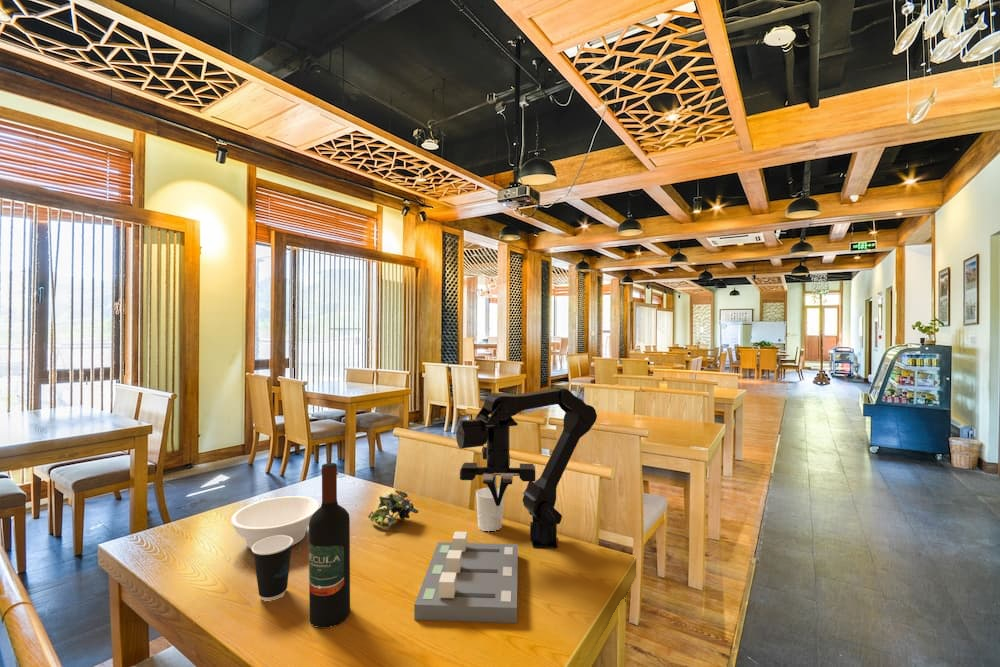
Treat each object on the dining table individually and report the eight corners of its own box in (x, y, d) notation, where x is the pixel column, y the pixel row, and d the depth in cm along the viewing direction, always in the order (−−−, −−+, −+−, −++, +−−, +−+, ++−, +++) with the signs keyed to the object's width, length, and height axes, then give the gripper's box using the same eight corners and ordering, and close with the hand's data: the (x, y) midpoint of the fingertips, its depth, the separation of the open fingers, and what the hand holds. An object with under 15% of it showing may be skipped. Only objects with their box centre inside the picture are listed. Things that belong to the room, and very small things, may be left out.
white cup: (507, 523, 129) (507, 489, 129) (498, 535, 122) (498, 499, 122) (482, 519, 132) (482, 485, 132) (471, 531, 125) (471, 495, 124)
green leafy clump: (401, 537, 132) (425, 504, 132) (385, 548, 121) (412, 512, 122) (374, 512, 135) (398, 479, 135) (356, 520, 124) (382, 485, 124)
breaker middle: (461, 564, 101) (461, 550, 101) (459, 572, 97) (459, 558, 97) (448, 564, 101) (448, 550, 101) (446, 572, 98) (446, 558, 98)
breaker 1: (456, 587, 92) (456, 572, 92) (453, 598, 88) (453, 582, 88) (442, 587, 92) (441, 572, 92) (438, 597, 89) (438, 581, 89)
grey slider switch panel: (517, 556, 111) (517, 543, 111) (516, 623, 86) (516, 607, 86) (438, 553, 112) (438, 541, 112) (414, 619, 87) (414, 604, 87)
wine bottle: (358, 609, 90) (357, 462, 90) (329, 632, 83) (328, 473, 83) (330, 599, 93) (329, 457, 93) (300, 621, 87) (299, 468, 86)
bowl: (211, 552, 113) (211, 520, 113) (280, 518, 132) (280, 491, 132) (272, 569, 105) (272, 535, 105) (336, 531, 124) (336, 502, 124)
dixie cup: (288, 603, 92) (288, 550, 92) (246, 608, 90) (246, 555, 90) (297, 581, 100) (296, 533, 100) (258, 586, 98) (258, 537, 98)
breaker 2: (466, 544, 110) (467, 531, 110) (465, 551, 106) (465, 538, 106) (454, 544, 110) (454, 531, 110) (452, 551, 107) (452, 538, 106)
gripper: (534, 436, 120) (534, 494, 120) (465, 435, 121) (465, 492, 121) (535, 448, 109) (535, 511, 109) (459, 446, 110) (459, 509, 110)
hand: (498, 505), depth 113 cm, fingers closed
